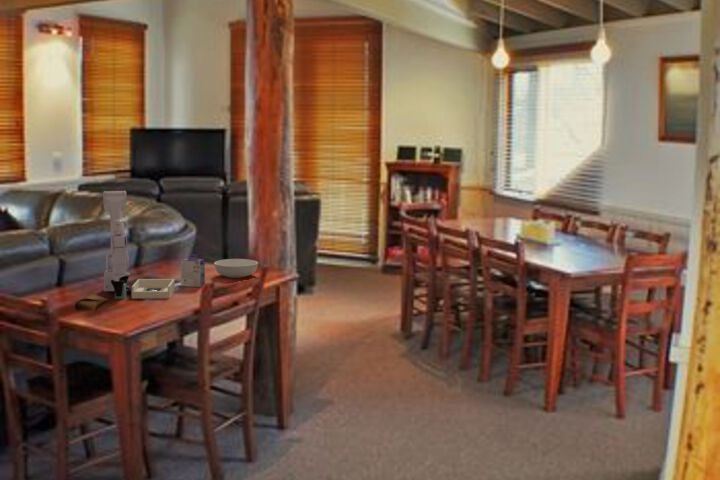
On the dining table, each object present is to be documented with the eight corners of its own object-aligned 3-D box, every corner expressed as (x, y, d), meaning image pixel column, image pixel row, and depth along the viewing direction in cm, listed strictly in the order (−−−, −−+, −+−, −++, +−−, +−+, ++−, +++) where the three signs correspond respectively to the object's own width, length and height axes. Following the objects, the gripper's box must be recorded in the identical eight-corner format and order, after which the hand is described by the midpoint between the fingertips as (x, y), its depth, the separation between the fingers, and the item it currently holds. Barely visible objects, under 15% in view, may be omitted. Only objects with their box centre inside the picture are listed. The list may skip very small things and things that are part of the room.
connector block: (115, 298, 370) (114, 284, 369) (117, 296, 374) (116, 282, 373) (124, 298, 370) (124, 284, 369) (126, 296, 374) (125, 282, 373)
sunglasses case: (95, 310, 350) (86, 296, 349) (81, 318, 350) (72, 304, 350) (110, 300, 367) (101, 286, 367) (96, 308, 368) (88, 294, 367)
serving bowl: (265, 277, 416) (265, 263, 415) (225, 282, 404) (225, 268, 403) (246, 270, 433) (245, 256, 432) (207, 274, 421) (206, 260, 420)
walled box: (131, 298, 371) (131, 287, 370) (138, 290, 386) (138, 279, 386) (169, 298, 372) (169, 286, 371) (174, 290, 387) (174, 279, 387)
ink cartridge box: (205, 285, 398) (205, 254, 396) (201, 287, 393) (200, 256, 391) (185, 283, 400) (184, 253, 398) (180, 286, 395) (179, 255, 393)
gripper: (125, 266, 363) (126, 298, 365) (132, 259, 377) (133, 290, 379) (108, 266, 362) (109, 298, 365) (115, 259, 377) (116, 290, 379)
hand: (120, 294), depth 372 cm, fingers open, 7 cm apart
